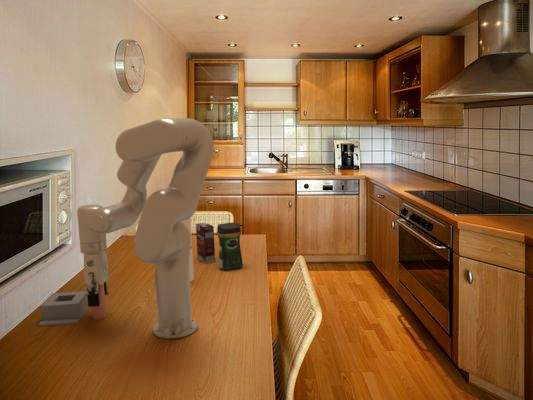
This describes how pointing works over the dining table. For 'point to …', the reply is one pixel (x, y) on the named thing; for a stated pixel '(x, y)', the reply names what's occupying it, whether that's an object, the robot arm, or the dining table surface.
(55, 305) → the socket
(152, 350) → the dining table surface
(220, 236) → the coffee jar
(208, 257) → the supplement box
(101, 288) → the peg
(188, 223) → the cylindrical container
